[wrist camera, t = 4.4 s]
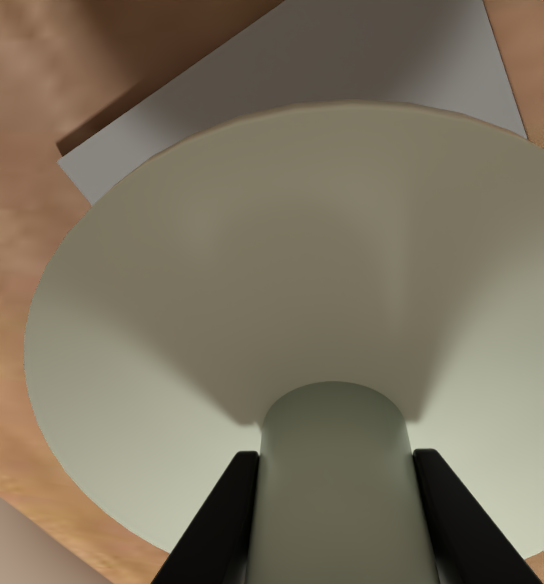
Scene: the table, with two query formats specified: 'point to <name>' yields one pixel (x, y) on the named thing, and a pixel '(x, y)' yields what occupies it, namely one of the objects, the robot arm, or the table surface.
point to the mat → (314, 76)
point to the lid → (306, 334)
